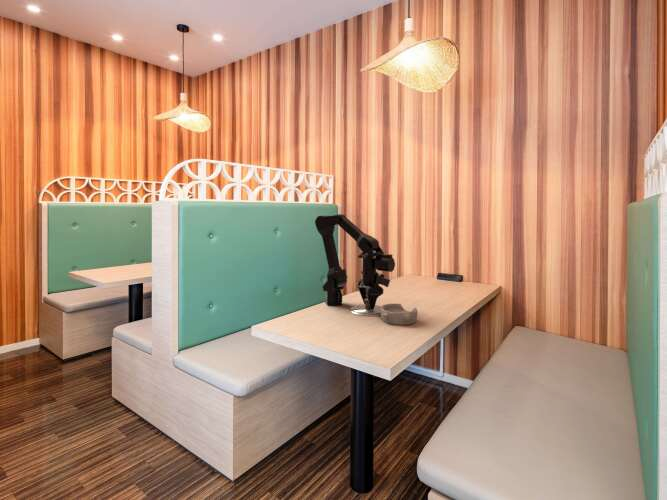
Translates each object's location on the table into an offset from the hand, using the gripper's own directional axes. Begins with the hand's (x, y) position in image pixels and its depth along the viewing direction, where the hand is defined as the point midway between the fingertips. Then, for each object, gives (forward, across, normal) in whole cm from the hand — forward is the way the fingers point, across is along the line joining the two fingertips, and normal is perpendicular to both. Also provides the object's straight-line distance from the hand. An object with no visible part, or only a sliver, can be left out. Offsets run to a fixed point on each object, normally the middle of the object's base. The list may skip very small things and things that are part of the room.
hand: (368, 306), depth 154 cm
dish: (+2, -15, -7) cm, 17 cm away
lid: (+2, 0, 0) cm, 2 cm away
